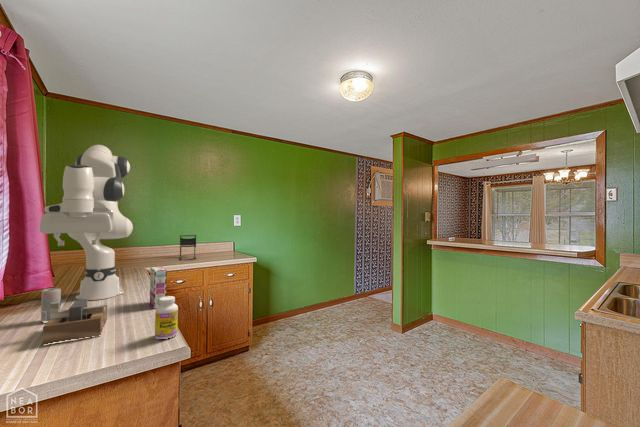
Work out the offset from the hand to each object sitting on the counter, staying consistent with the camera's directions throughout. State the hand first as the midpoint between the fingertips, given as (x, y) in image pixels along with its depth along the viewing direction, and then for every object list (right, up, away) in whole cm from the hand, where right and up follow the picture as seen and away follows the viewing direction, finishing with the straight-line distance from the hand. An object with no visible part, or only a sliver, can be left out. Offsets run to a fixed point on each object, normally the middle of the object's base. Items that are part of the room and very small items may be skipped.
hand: (78, 245), depth 103 cm
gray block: (+6, -27, -7) cm, 29 cm away
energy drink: (-12, -29, +2) cm, 32 cm away
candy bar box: (+17, -30, +22) cm, 40 cm away
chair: (-29, -29, +146) cm, 152 cm away
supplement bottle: (+38, -30, -10) cm, 49 cm away
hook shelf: (+6, -29, -7) cm, 31 cm away
